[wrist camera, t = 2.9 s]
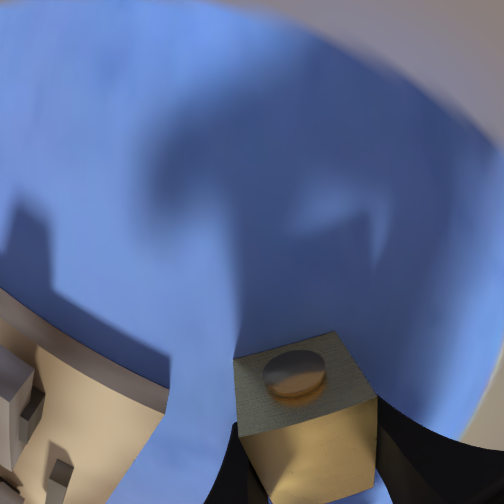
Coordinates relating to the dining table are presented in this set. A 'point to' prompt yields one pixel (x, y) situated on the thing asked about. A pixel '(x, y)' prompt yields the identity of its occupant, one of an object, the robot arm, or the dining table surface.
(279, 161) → the dining table surface
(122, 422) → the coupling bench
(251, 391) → the block
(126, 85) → the dining table surface
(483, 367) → the dining table surface
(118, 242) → the dining table surface
